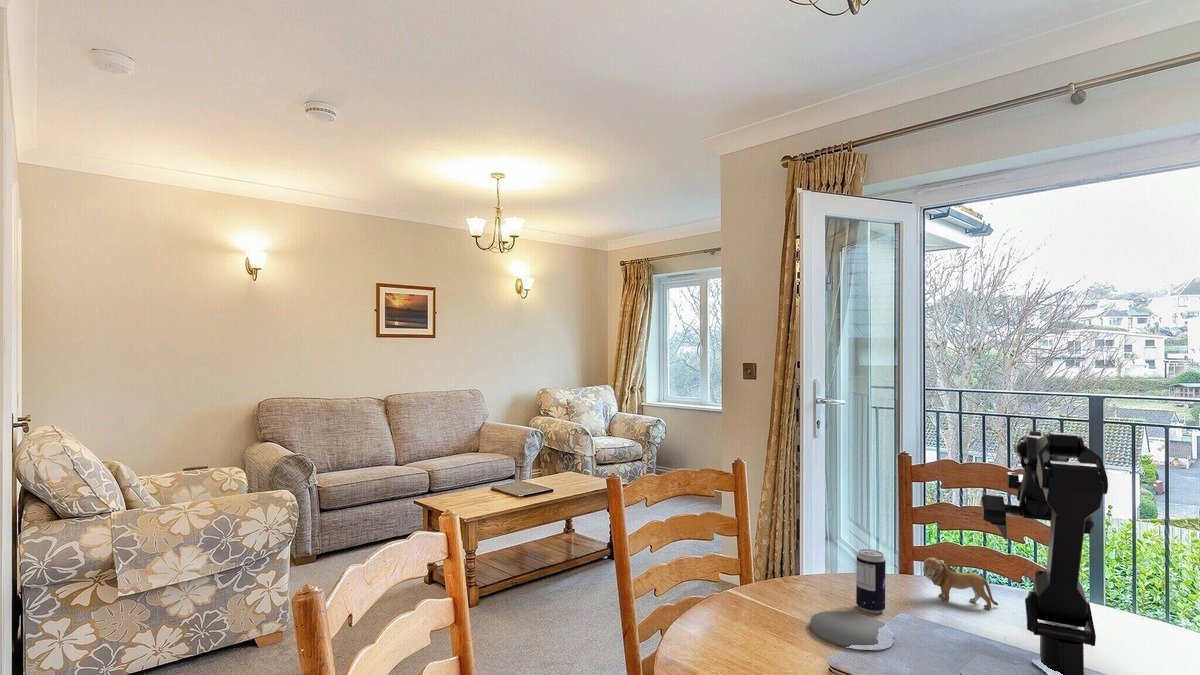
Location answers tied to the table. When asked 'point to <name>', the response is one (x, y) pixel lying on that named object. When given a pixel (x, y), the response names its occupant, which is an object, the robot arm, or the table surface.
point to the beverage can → (870, 581)
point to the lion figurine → (956, 581)
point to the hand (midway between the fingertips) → (1030, 541)
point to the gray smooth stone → (846, 628)
